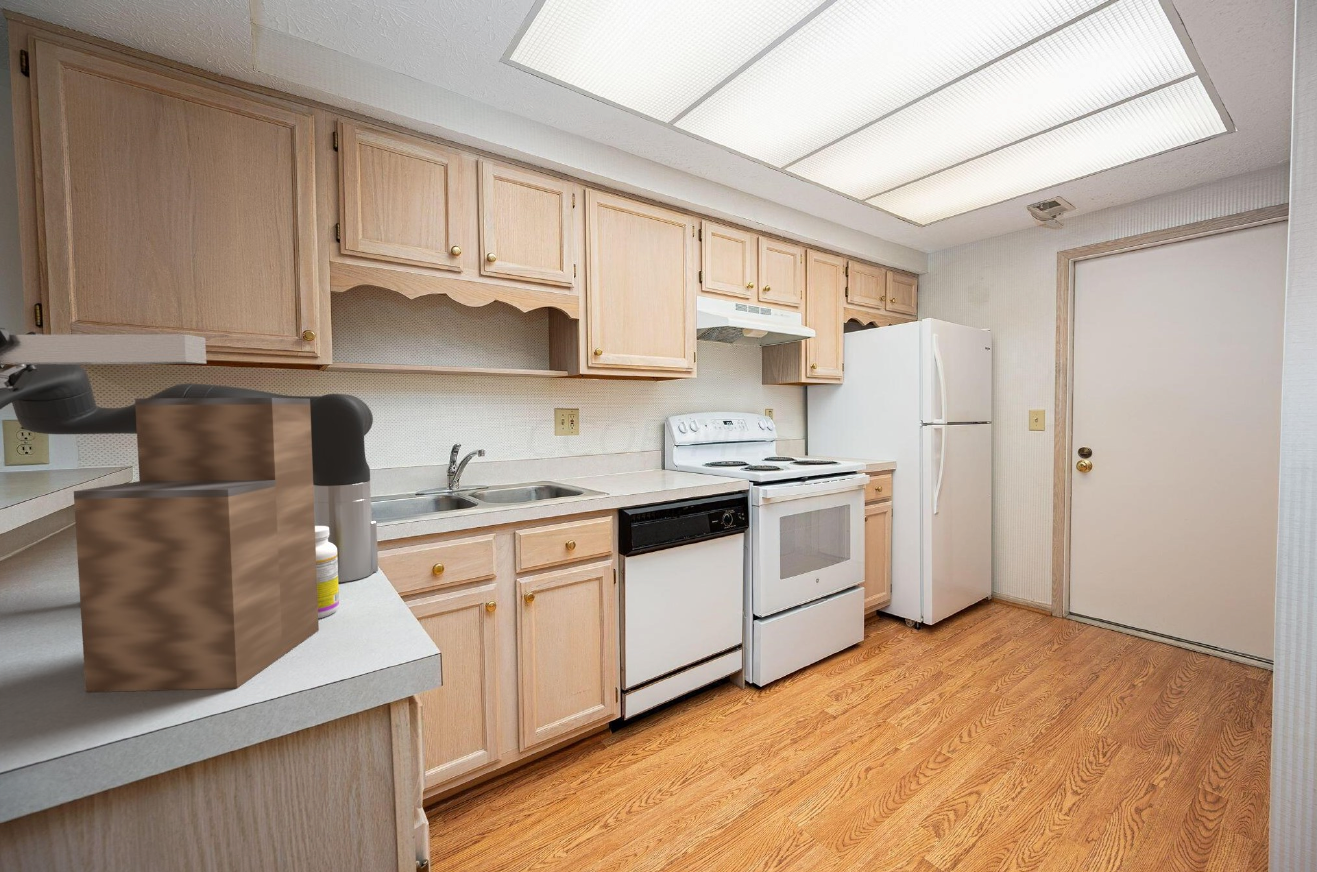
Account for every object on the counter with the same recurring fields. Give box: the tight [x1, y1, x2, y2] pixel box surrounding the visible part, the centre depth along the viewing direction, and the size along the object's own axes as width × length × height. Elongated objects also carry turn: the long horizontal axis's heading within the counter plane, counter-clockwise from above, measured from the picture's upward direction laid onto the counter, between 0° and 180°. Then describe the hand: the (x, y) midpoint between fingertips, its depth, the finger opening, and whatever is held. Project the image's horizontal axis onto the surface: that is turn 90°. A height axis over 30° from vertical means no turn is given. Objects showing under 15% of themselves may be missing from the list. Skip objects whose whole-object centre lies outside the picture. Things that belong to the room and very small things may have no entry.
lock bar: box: [0, 333, 207, 366], centre depth 63 cm, size 24×3×3 cm, turn 92°
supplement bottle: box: [315, 526, 340, 620], centre depth 84 cm, size 7×7×13 cm
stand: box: [73, 397, 320, 693], centre depth 69 cm, size 16×16×32 cm
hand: (24, 337), depth 63 cm, fingers closed on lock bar, 3 cm apart
